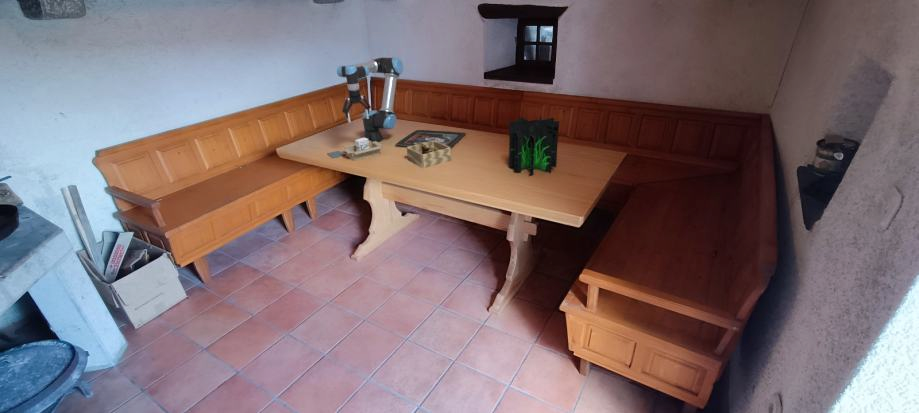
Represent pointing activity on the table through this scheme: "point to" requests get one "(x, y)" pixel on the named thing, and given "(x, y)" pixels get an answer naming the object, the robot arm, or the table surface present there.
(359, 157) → the carton
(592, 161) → the table surface
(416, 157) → the box
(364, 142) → the ink box
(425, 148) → the bear figurine
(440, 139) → the religious icon
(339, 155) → the mat
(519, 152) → the decorative plant
